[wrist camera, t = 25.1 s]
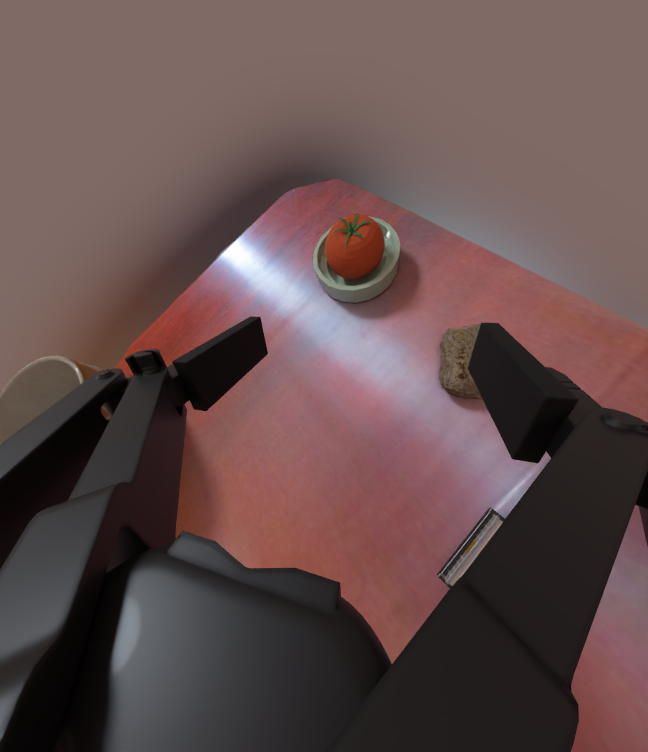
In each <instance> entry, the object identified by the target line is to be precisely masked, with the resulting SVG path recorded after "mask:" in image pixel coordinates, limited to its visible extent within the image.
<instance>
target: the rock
mask: <svg viewBox="0 0 648 752" xmlns="http://www.w3.org/2000/svg"><path fill="white" fill-rule="evenodd" d="M480 325H481V324H479V325H473V326H469V327H463V328H455V329H447V330H446V332H445V333H444V335H443V338H442V342H441V344H440V348H441V366H440V371H439V378H440V382H441V385H442V388H444V389H445V390H446V391H447V392H448V393H453V394H455V395H456V396H460V397H466V398H474V399H480V398H481V395H480V392H479V390H478V388H477V386H476V384H475V382H474V380H473V378H472V376H471V374H470V372H469V370H468V365H469V362H470V358H471V355H472V352H473V348H474V345H475V342H476V339H477V335H478V332H479V329H480Z"/></svg>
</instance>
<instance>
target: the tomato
mask: <svg viewBox="0 0 648 752" xmlns="http://www.w3.org/2000/svg"><path fill="white" fill-rule="evenodd" d="M384 246H385V243H384V235H383V233H382V230H381V228H380V226H379V225H378V224H377V223H376V222H375V221H374V220H373V219H372V218H370V217H368V216H365V215H359V214H358V213H357V214H355V215H349V216H347V217H344V218H342V219H340V220H339V221H338V222H337V223H336V224H335V225H334V226H333V227H332V228H331V230H330V231H329V234H328V236H327V238H326V243H325V256H326V260H327V262H328V264H329V266H330V268H331V269H332V270H333V271H334V272H335V273H336V274H337V275H339V276H341V277H343V278H346V279H359V278H362V277H365V276H366V275H368V274H370V273H371V272H372V271H373V270H374V269H375V268H376V267H377V266H378V264H379V263H380V261H381V259H382V256H383V253H384Z"/></svg>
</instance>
